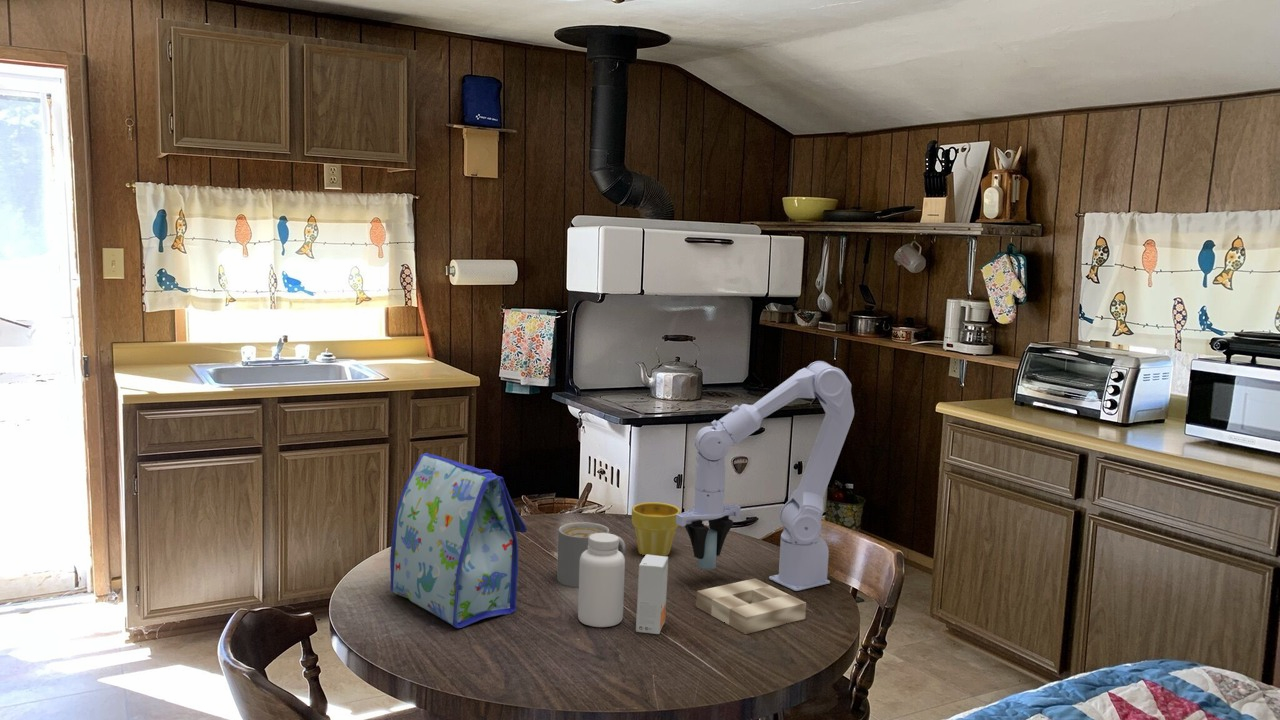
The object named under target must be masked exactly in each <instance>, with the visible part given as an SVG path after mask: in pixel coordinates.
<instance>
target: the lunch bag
mask: <svg viewBox="0 0 1280 720" xmlns="http://www.w3.org/2000/svg"><path fill="white" fill-rule="evenodd" d="M527 528H528V527H527V525H526V523H525V522H524V519H523V518H522V517H521V515H520V514H519V511H517V508H516V506H515V505H514V503H513V500H512V498H511V495H510V492H509V490H508V488H507V486H506V483H505V480H504V477H503V476H499V475H497V474H495V473H493V472H492V470H491V469H485V468H484V469H483V468H477V467H474V466H473V465H468V464H464V463H461V462H458V461H456V460H454V459H453V460H452V459H449V458H445V457H442V456H438V455H436V454H432V453H431V454H430V453H429V452H425V453H422V454H420V456H419V458H418V459H417V461H416V462H415V465H414V467H413V469H412V471H411V473H410V475H409V477H408V479H407V480H406V483H405V484H404V487H403V489H402V492H401V495H400V497H399V500H398V504H397V508H396V511H395V516H394V523H393V529H392V534H391V535H392V536H391V545H390V557H389V558H390V559H389V560H390V561H389V562H390V567H389V568H390V590H391V592H393V593H394V594H396V595H398V596H399V597H403V598H404V599H408V600H409V601H410V602H411V603H413V604H415V605H417V606H419V607H420V608H422V609H424V610H425V611H428V612H429V613H431V614H433V615H435V616H436V617H438V618H440V619H441V620H443V621H444V622H446V623H448V624H449V625H451V626H452V627H454V628H455V629H461V628H464V627H466V626H469V625H472V624H475V623H476V622H478V621H481V620H483V619H487V618H492V617H497V616H502V615H505V616H506V614H507V615H510V614H513V613H515V611H516V610H517V598H518V579H519V578H518V575H519V543H518V537H517V533H526V532H527V530H528V529H527Z"/></svg>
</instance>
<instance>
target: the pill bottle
mask: <svg viewBox="0 0 1280 720" xmlns="http://www.w3.org/2000/svg"><path fill="white" fill-rule="evenodd" d="M618 537H619V535H616V534H614V533H613V534H612V533H610V532H609V533H595V534H592V535H590V536H589V538H588V550H586V551H584V552H583V553H582V555H581V557H580V565H579V588H578V597H577V600H578V601H577V603H578V604H577V618H578V620H579V622H581V624H584V625H586V626H589V627H595V628H608V627H614V626H616V625H619V624H620V623H621V622H622V621H623V616H624V601H625V600H624V599H625V597H624V595H625V570H626V559H625V556H623V554H622V553H621V552H620V551H619V550H618V546H619V538H618Z"/></svg>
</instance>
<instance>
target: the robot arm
mask: <svg viewBox="0 0 1280 720" xmlns="http://www.w3.org/2000/svg"><path fill="white" fill-rule="evenodd" d="M816 398H817V399H818V401H819V403H820V405H821V407H822V408H823V411H824V415H825V416H824V418H823V420H822V423H821V425H820V428H819V431H818V433H817V436H816V439H815V442H814V444H813V447H812V450H811V453H810V455H809V458H808V460H807V463H806V466H805V469H804V470H803V474H802V476H801V479H800V482H799V485H798V487H797V488H796V489H795V490H793V491H792V492H791V494H790V498H789V499H788V500H787V501H786V503H785V504H784V505H782V507H781V509H780V511H779V520H780V523H781V525H782V526H783V527H784V528H783V530H782V532H781V534H780V544H779V545H780V546H779V547H780V548H779V561H778V563H779V565H778V574H774V575H770V576H769V577H768V578H769V580H770V581H772V582H775V583H776V584H779V585H781V586H784V587H785V588H788V589H790V590H792V591H795V592H798V591H803V590H807V589H811V588H815V587H819V586H823V585H824V586H825V585H828V584H831V581H830V580H829V579H828V571H829V569H828V568H829V555H830V552H829V550H830V549H829V546H828V544H827V542H826V540H825V539H824V538H823V537H821V536H820V535H821V533H822V529H823V528H822V516H823V514H824V496H825V493H826V492H827V491H826V490H827V488H828V485H829V484H830V480H831V478H832V475H833V472H834V470H835V468H836V465H837V462H838V459H839V457H840V454H841V451H842V450H843V449H842V448H843V446H844V444H845V441H846V438H847V435H848V433H849V430H850V427H851V424H852V421H853V419H854V417H855V407H854V402H853V395H852V383H851V381H850V380H849V378H848V376H847V374H845V372H844V371H843V370H842V369H841V368H839V367H835V366H833V365H831V364H830V363H828V362H826V361H824V360H816V361H814V362H810V363H809V365H808V366H806V367H803V368H801V369H798V370H797V371H796V372H795V373H794V374H792V375H791V376H790V377H788V378H787V379H785V381H783V382H782V383H780V384H779V385H778V386H776V387H774V389H772V390H771V391H769V392H768V393H767V394H766V395H764V396H762V397H761V398H760V399H758V401H756V402H755V403H753V404H746V403H742V404H741V405H738V404H735V405H733V406H731V411H730V412H728V413H727V414H725V415H724V416H722V417H721V418H720V419H718V420H716V419H714V420H713V421H711V425H710V426H709V425H707V426H704V427H702V428H701V429H700V428H699V430H698V432H697V433H696V435H695V438H694V439H693V443H694V446H695V448H696V450H697V452H696V464H695V479H694V480H695V484H694V505H693V507H692V508H691V509H689V510H686V511H684V512H680V514H676V524H677V525H679V526H678V527H684V528H685V530H686V532H687V534H688V536H689V539H690V543H691V547H692V551H693V552H692V553H693V556H694V557H695V558H697V560H698V559H703V557H704V549H705V540H706V536H707V532H708V530H709V529H712V530H715V531H717V551H716V557H718V556H720V555H721V551H722V549H723V546H724V543H725V540H726V538H727V535H729V532H730V531H731V528H732V527H733V525H734V521H733V520H732V519H731V518H730V517H741V506H739V505H736V504H729V505H728V504H726V505H725V485H726V484H725V483H726V482H725V481H726V480H725V479H726V465H725V462H726V461H725V460H726V456H727V455H728V454H729V451H730V448H731V447H734V446H736V444H738V443H740V442H741V441H743V440H745V439H746V438H747V437H749V436H750V435H752V434H754V433H755V432H756V431H759V429H760V428H761V424H762V421H763V419H765V418H767V417H768V416H770V415H771V414H773V413H774V412H776V411H779V409H781V408H783V407H784V406H786V405H788V404H789V403H791V402H793V401H795V400H796V399H816ZM706 521H708V525H709V527H707V526H706V525H705V524H704V523H703V522H706Z"/></svg>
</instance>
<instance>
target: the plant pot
mask: <svg viewBox="0 0 1280 720" xmlns="http://www.w3.org/2000/svg"><path fill="white" fill-rule="evenodd" d="M680 513H681V509H680V508H679V507H677V506H676V505H674V504H670V503H665V502H656V501H654V502H653V501H652V502H651V501H650V502H641V503H638V504H635V505H633V506H632V509H631V524H632V525H633V526H634V531H635V538H636V543H637V551H638V553H639V554H640V555H641V554H642V555H641V556H643V555H646V554H648V555H656V556H665V557H668V555H670V552H671V549H672V548H671V547H672V545H673V541H674V538H675V533H676V530H677V529H678V527H680V526H679V525H677V524H676V514H680Z"/></svg>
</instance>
